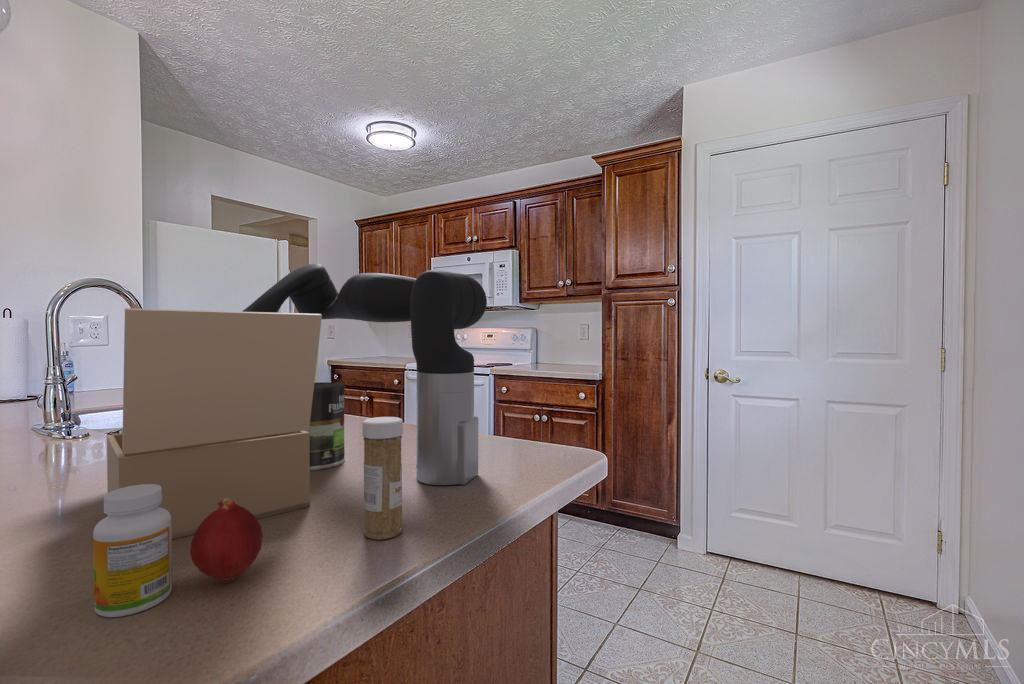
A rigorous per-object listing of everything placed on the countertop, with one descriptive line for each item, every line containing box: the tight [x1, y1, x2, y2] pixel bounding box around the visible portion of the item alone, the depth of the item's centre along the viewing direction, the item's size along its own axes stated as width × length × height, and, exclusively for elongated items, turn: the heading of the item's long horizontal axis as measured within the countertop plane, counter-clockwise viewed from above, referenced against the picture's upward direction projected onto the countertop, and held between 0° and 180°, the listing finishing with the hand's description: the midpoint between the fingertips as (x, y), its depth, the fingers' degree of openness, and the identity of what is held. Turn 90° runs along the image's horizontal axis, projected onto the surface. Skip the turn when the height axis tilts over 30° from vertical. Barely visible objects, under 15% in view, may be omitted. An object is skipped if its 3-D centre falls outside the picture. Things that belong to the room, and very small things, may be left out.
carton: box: [106, 430, 311, 541], centre depth 64 cm, size 16×20×10 cm
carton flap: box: [122, 307, 323, 455], centre depth 56 cm, size 16×19×1 cm
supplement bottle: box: [92, 484, 173, 618], centre depth 42 cm, size 5×5×10 cm
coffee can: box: [304, 381, 346, 471], centre depth 87 cm, size 10×10×14 cm
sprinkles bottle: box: [362, 416, 404, 541], centre depth 57 cm, size 5×5×13 cm
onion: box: [189, 498, 264, 584], centre depth 46 cm, size 6×6×8 cm
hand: (226, 388), depth 57 cm, fingers closed
